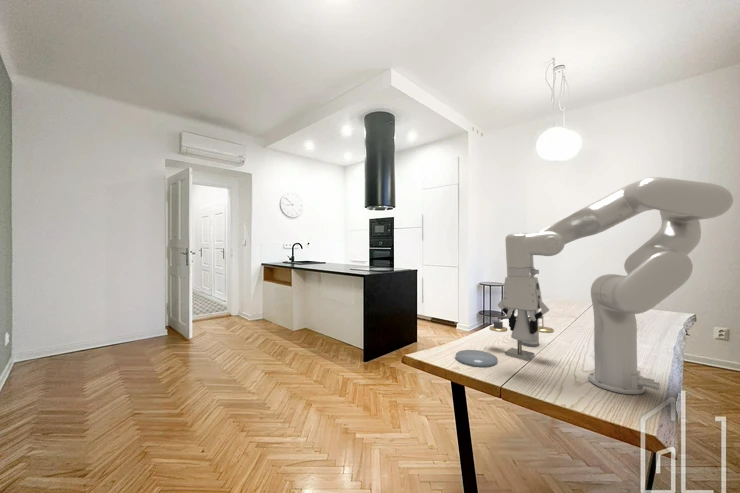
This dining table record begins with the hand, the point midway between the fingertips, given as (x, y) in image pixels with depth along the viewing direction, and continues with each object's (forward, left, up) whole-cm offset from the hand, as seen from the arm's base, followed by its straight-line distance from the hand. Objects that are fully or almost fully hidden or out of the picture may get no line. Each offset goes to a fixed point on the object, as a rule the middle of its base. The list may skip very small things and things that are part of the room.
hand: (523, 330), depth 92 cm
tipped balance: (+8, -17, -14) cm, 23 cm away
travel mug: (+10, -33, -14) cm, 37 cm away
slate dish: (+17, -2, -14) cm, 22 cm away
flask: (0, 0, -3) cm, 3 cm away
